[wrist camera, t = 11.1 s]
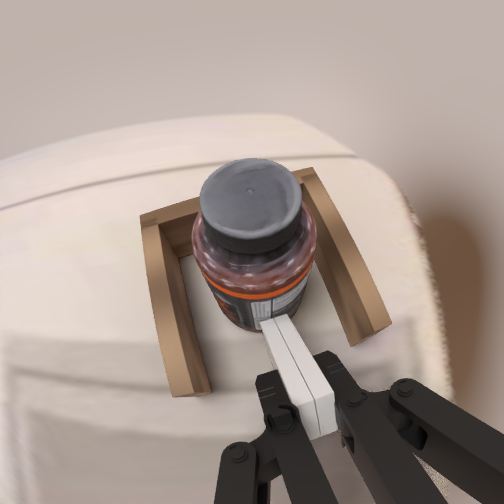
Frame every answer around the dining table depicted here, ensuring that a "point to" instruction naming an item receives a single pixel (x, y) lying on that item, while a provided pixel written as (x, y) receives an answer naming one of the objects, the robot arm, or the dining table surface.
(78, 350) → the dining table surface
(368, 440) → the robot arm
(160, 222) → the bay
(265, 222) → the supplement bottle
